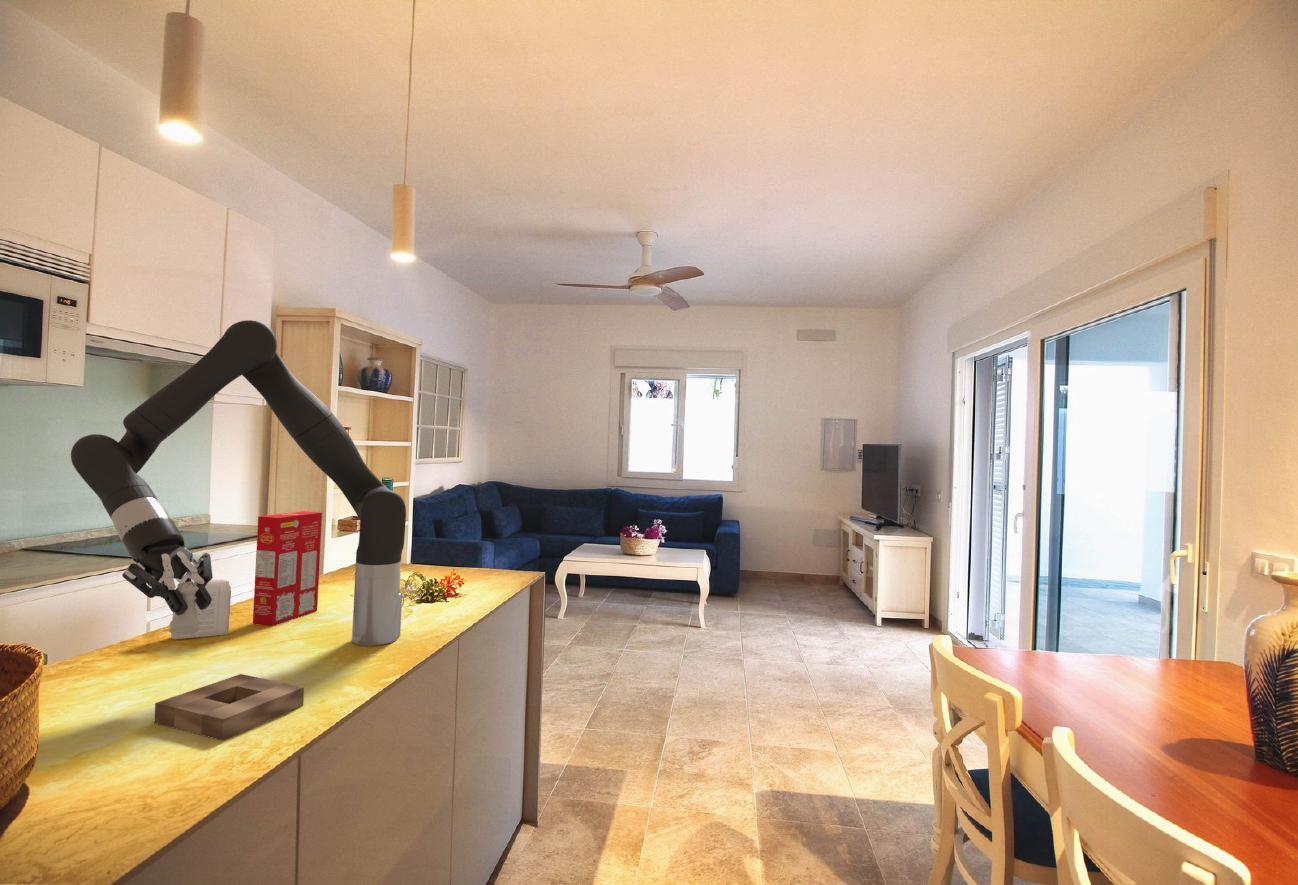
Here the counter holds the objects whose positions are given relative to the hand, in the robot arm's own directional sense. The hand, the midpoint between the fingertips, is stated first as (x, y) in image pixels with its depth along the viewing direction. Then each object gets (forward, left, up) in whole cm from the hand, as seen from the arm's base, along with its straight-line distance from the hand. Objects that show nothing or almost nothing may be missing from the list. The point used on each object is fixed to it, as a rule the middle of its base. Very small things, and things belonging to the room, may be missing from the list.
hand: (194, 608), depth 108 cm
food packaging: (-43, -27, -15) cm, 53 cm away
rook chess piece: (0, -2, -4) cm, 5 cm away
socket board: (+2, +12, -15) cm, 19 cm away
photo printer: (-24, -30, -15) cm, 41 cm away
